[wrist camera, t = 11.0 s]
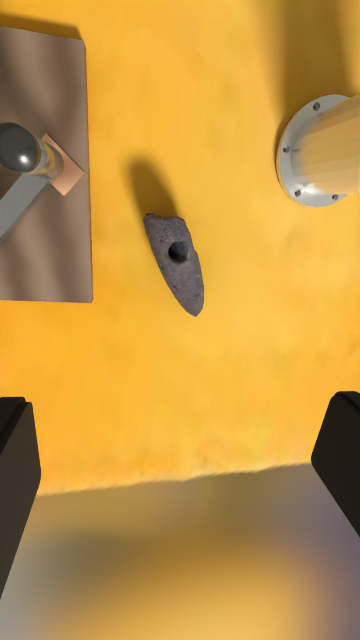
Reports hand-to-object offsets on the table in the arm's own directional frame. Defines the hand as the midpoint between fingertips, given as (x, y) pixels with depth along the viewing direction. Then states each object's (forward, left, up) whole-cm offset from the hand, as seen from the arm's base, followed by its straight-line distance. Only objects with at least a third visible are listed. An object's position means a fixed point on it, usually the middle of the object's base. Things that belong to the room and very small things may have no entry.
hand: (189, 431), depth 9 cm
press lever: (+17, -2, -31) cm, 36 cm away
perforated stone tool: (-4, +1, -34) cm, 34 cm away
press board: (+17, -7, -33) cm, 38 cm away
